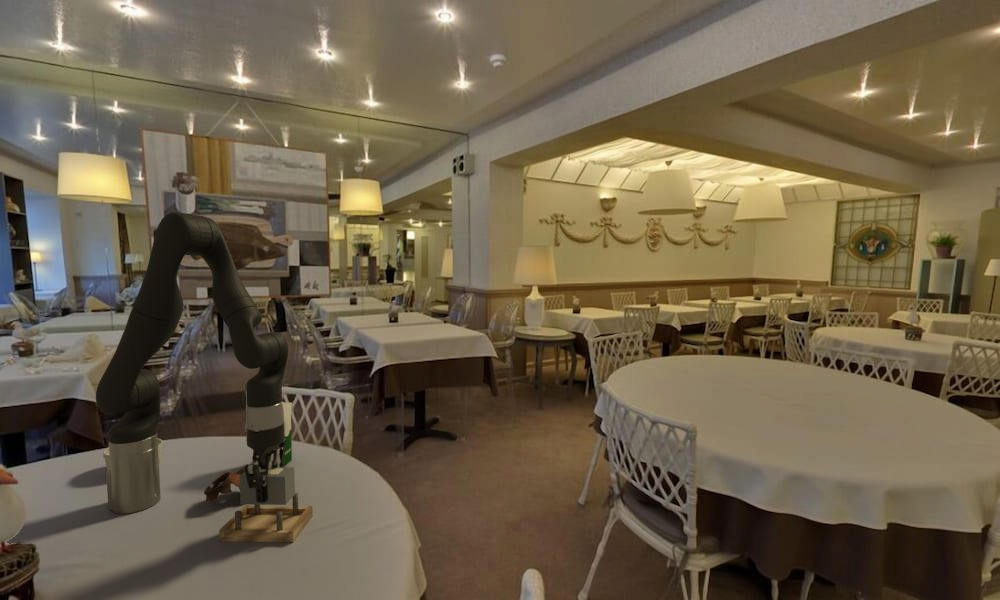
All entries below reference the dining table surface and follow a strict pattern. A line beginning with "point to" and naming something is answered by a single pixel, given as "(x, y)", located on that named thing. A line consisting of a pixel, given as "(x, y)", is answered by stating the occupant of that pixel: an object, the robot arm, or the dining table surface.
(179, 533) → the dining table surface
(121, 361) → the robot arm
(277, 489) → the block
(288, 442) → the milk carton
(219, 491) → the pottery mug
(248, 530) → the pin tray
